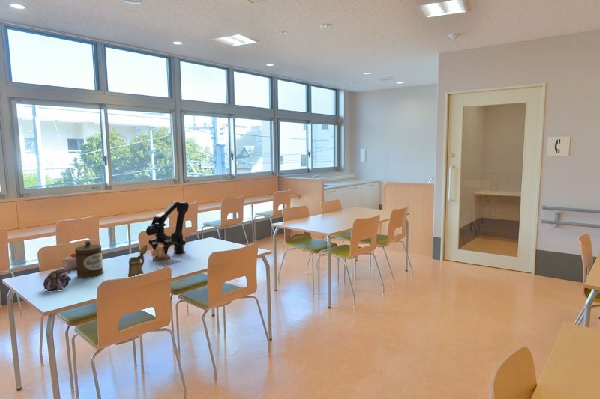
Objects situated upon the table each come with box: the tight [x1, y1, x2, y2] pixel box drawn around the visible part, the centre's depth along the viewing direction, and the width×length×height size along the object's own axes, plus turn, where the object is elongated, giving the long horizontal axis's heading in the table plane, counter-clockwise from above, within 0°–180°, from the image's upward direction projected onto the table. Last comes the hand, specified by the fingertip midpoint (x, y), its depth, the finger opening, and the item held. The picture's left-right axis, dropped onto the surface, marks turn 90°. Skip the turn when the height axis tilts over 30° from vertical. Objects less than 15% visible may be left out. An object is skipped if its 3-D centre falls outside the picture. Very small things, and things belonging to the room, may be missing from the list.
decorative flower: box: [42, 268, 72, 292], centre depth 232 cm, size 15×12×15 cm
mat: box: [157, 259, 182, 267], centre depth 282 cm, size 13×9×1 cm
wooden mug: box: [127, 244, 148, 278], centre depth 256 cm, size 9×14×18 cm, turn 142°
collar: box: [152, 253, 171, 262], centre depth 292 cm, size 12×12×2 cm
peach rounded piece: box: [150, 245, 166, 258], centre depth 289 cm, size 12×7×9 cm, turn 154°
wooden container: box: [75, 240, 104, 279], centre depth 256 cm, size 15×15×22 cm
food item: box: [61, 253, 77, 271], centre depth 271 cm, size 14×8×10 cm, turn 140°
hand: (161, 253), depth 291 cm, fingers open, 9 cm apart
